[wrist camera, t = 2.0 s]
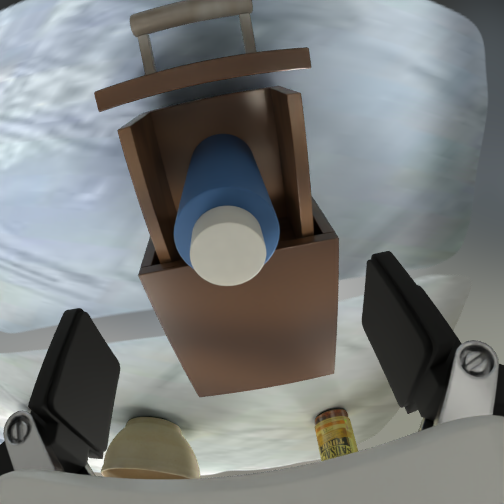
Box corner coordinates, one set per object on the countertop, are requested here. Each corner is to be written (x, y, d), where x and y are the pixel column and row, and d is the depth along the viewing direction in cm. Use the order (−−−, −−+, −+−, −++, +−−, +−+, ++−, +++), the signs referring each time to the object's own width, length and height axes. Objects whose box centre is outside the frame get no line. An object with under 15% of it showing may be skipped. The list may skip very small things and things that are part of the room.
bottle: (184, 140, 21) (154, 216, 11) (248, 128, 21) (279, 191, 11) (198, 198, 24) (187, 308, 14) (258, 187, 24) (291, 289, 14)
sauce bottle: (339, 403, 47) (370, 509, 31) (351, 413, 50) (380, 508, 34) (305, 417, 49) (328, 522, 32) (319, 427, 52) (342, 521, 35)
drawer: (115, 32, 17) (79, 22, 11) (274, -1, 17) (296, -25, 11) (170, 240, 27) (159, 292, 21) (302, 215, 27) (326, 261, 21)
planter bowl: (102, 430, 47) (96, 481, 38) (117, 395, 41) (108, 459, 31) (182, 450, 53) (182, 498, 44) (215, 419, 46) (219, 480, 37)
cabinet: (157, 213, 26) (137, 275, 19) (304, 185, 26) (339, 237, 19) (199, 331, 34) (199, 397, 27) (312, 311, 34) (334, 373, 27)
